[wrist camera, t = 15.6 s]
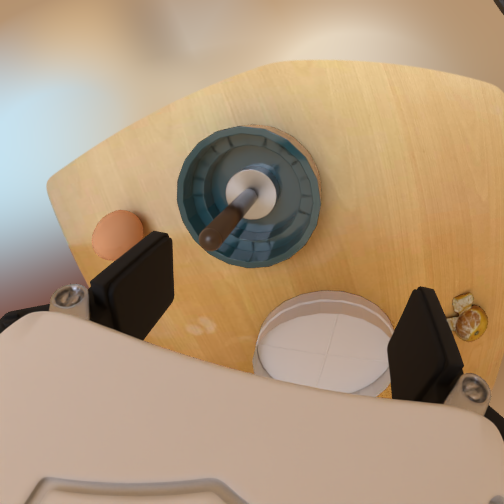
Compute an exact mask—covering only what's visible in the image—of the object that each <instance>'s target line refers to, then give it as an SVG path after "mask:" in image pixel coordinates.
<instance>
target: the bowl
mask: <svg viewBox="0 0 504 504" xmlns="http://www.w3.org/2000/svg"><path fill="white" fill-rule="evenodd" d="M249 166H259V167H263V168H265V169H267V170H268V171H270V172H271V173H272V174H273V175H274V176H275V178H276V179H277V181H278V184H279V188H280V194H279V198H278V201H277V203H276V205H275V206H274V208H273V210H272V211H271V212H270V213H269V214H268V215H267V216H265V217H263V218H260V219H256V220H250V219H245V218H242V219H241V221H240V222H239V223H238V224H237V226H236V227H235V228H234V229H233V231H232V232H231V233H230V235H229V236H228V237H227V238H226V240H225V241H224V242H223V244H222V245H221V246H220V247H219V248H218V249H217V250H215V251H207V250H205V249H204V250H205V251H206V252H207V253H209V254H210V255H212V256H214V257H216V258H218V259H220V260H222V261H224V262H226V263H228V264H231V265H236V266H240V267H245V268H258V267H269V266H272V265H274V264H277V263H279V262H282V261H284V260H287V259H289V258H290V257H292V256H293V255H294V254H295V253H296V252H298V251H299V250H300V249H301V248H302V247H303V246H305V244H306V243H307V241H308V240H309V238H310V236H311V235H312V233H313V231H314V229H315V228H316V226H317V221H318V216H319V211H320V206H321V184H320V178H319V171H318V169H317V167H316V165H315V163H314V161H313V159H312V157H311V155H310V153H309V152H308V150H306V149H305V148H304V147H303V146H302V145H301V144H300V143H299V142H298V141H297V140H296V139H295V138H294V137H293V136H291V135H289V134H287V133H285V132H283V131H281V130H279V129H276V128H274V127H269V126H261V125H244V126H237V127H233V128H228V129H224V130H220V131H217V132H215V133H213V134H212V135H210V136H208V137H207V138H205V139H204V140H202V141H201V142H199V143H198V144H197V145H196V146H195V148H194V149H193V150H192V151H191V153H190V154H189V155H188V157H187V158H186V159H185V161H184V163H183V166H182V169H181V172H180V175H179V178H178V181H177V203H178V207H179V210H180V214H181V217H182V221H183V223H184V225H185V226H186V228H187V229H188V231H189V233H190V234H191V236H192V238H193V239H194V240H195V241H196V242H197V243H198V244H199V245H200V243H199V235H200V233H201V232H202V230H203V229H205V228H206V227H207V226H208V225H209V224H210V223H211V222H212V221H213V220H214V219H215V218H216V217H217V216H218V215H219V214H220V213H221V212H222V211H223V210H224V209H225V208H226V207H227V206H228V203H227V200H226V186H227V183H228V181H229V180H230V178H231V177H232V176H233V175H234V174H236V173H237V172H239V171H240V170H242V169H243V168H246V167H249ZM200 246H201V245H200Z"/></svg>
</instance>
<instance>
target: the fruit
mask: <svg viewBox="0 0 504 504" xmlns="http://www.w3.org/2000/svg"><path fill="white" fill-rule="evenodd" d="M473 300H474V297H473V295H472V294H471V293H468V294H465V295H459V296H458V297H455V298H454V299H453V304H452V305H453V306H454V311H456V312H458V313H459V316H458V317H457V318H455V317H453V318H446V319H447V321H448V324H449V326H450V329H451V331H454V330H455V331H456V334H457V336H458V337H459V338H460V339H462V340H464V341H466V342H472V341H474V340H476V339H478V338H479V337H480V336H482V334H483V333H484V332H485V330H486V328H487V325H488V317H487V315H486V313H485V311H484V310H483V309H482V308H480V306H479V307H477V306H476V305H474V306H473V307H472V306H471V304H472V301H473Z"/></svg>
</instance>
